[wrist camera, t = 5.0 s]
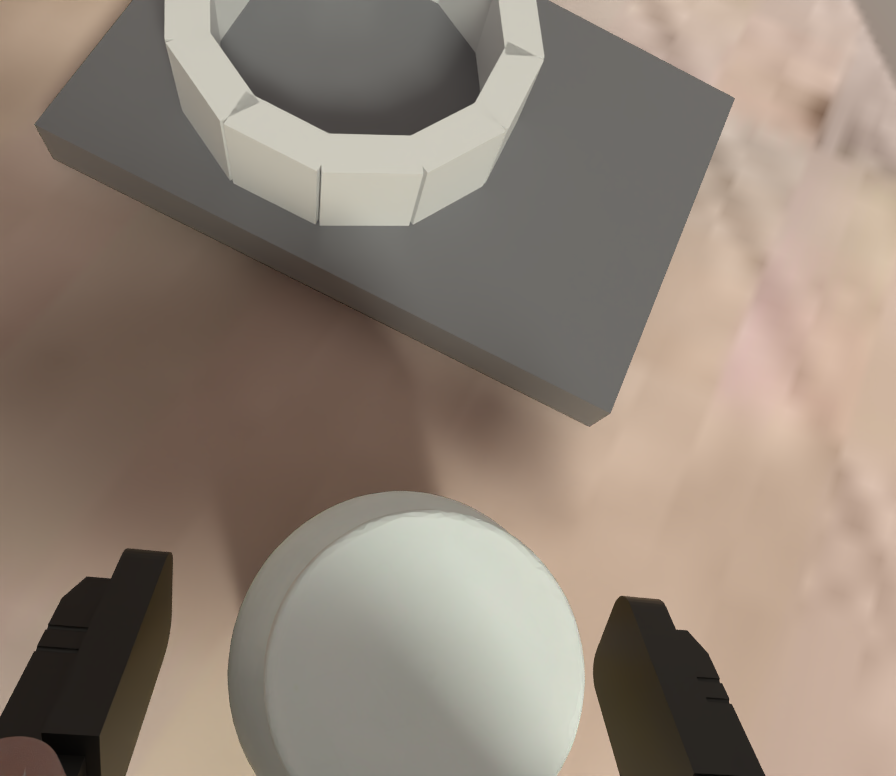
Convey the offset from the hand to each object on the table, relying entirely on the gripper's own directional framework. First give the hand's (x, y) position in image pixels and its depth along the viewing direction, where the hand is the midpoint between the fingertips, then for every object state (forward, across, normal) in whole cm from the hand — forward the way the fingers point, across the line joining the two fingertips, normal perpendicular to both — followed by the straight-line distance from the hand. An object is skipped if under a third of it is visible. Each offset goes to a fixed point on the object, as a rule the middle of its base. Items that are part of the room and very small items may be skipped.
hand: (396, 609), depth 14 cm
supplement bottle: (+3, 0, +4) cm, 5 cm away
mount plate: (+13, 0, -6) cm, 14 cm away
